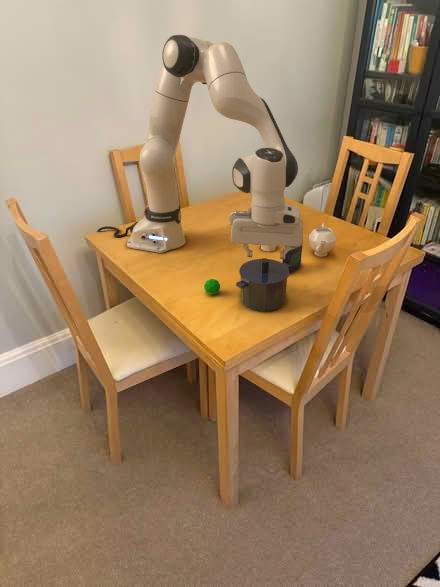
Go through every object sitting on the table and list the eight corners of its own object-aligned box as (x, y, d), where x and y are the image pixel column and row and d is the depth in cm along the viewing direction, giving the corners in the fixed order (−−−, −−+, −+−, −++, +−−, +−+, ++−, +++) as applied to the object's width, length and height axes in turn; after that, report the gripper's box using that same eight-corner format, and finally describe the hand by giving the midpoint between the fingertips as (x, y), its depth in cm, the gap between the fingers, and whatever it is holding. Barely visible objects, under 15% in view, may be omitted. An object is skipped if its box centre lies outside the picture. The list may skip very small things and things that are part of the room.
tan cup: (276, 252, 153) (277, 235, 149) (258, 251, 154) (258, 234, 150) (278, 244, 159) (279, 227, 155) (260, 243, 160) (260, 226, 156)
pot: (224, 299, 129) (224, 272, 123) (271, 279, 138) (273, 254, 132) (252, 320, 119) (253, 292, 114) (301, 298, 128) (304, 271, 123)
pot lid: (229, 271, 125) (229, 257, 123) (266, 257, 132) (267, 244, 130) (260, 292, 115) (261, 278, 113) (299, 276, 122) (300, 262, 119)
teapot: (334, 242, 159) (337, 219, 154) (334, 268, 143) (337, 243, 138) (308, 240, 161) (310, 217, 156) (305, 265, 145) (308, 241, 140)
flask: (296, 263, 146) (298, 235, 140) (303, 266, 145) (306, 238, 139) (279, 273, 141) (281, 244, 135) (286, 276, 139) (288, 247, 133)
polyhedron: (210, 299, 129) (209, 286, 126) (201, 292, 132) (200, 279, 130) (223, 293, 131) (223, 280, 129) (214, 287, 135) (213, 274, 132)
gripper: (227, 215, 112) (228, 260, 120) (305, 218, 109) (301, 264, 117) (231, 206, 117) (231, 250, 125) (305, 208, 114) (301, 253, 122)
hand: (266, 257), depth 121 cm, fingers open, 8 cm apart
